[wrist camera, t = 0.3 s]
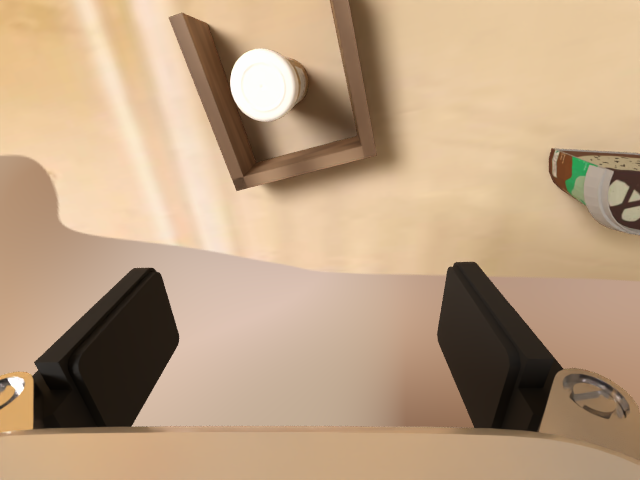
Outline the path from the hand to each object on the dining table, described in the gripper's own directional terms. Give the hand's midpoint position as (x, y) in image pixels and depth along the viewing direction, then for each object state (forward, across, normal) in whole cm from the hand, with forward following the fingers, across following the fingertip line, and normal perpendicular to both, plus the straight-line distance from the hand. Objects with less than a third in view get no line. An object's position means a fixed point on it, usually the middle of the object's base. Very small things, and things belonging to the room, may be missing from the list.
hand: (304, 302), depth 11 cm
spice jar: (+29, +3, -7) cm, 30 cm away
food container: (+29, -30, +4) cm, 42 cm away
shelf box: (+29, +3, -7) cm, 30 cm away
